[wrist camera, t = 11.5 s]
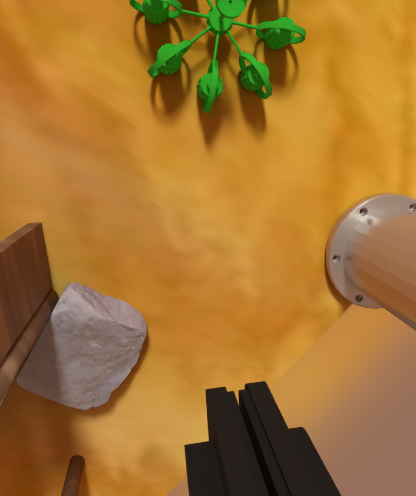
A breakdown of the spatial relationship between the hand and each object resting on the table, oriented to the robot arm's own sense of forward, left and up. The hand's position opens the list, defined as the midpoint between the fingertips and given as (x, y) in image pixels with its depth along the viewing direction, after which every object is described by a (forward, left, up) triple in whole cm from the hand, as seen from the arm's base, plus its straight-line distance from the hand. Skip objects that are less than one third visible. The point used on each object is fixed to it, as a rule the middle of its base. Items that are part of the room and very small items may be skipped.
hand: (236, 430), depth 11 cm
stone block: (+10, +12, -30) cm, 33 cm away
